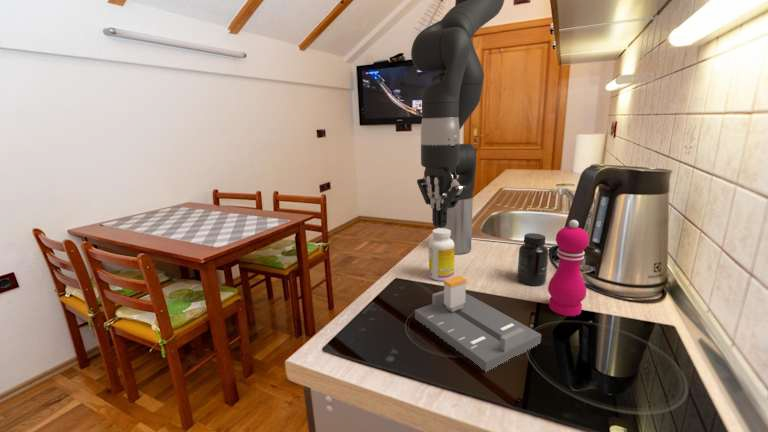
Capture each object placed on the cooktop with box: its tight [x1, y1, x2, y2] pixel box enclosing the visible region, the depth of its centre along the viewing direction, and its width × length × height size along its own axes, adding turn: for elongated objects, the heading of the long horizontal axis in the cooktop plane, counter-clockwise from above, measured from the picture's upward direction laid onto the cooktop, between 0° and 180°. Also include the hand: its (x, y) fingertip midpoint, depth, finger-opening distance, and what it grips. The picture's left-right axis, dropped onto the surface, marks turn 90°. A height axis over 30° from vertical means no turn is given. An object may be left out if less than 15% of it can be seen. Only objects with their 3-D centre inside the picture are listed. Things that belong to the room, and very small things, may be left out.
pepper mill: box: [547, 219, 590, 317], centre depth 74 cm, size 7×7×20 cm
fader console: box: [414, 289, 542, 373], centre depth 69 cm, size 20×14×4 cm
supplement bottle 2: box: [516, 232, 549, 287], centre depth 89 cm, size 7×7×12 cm
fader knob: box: [443, 275, 467, 312], centre depth 73 cm, size 2×4×6 cm, turn 121°
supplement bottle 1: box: [428, 227, 455, 282], centre depth 93 cm, size 7×7×13 cm
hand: (439, 226), depth 74 cm, fingers closed
